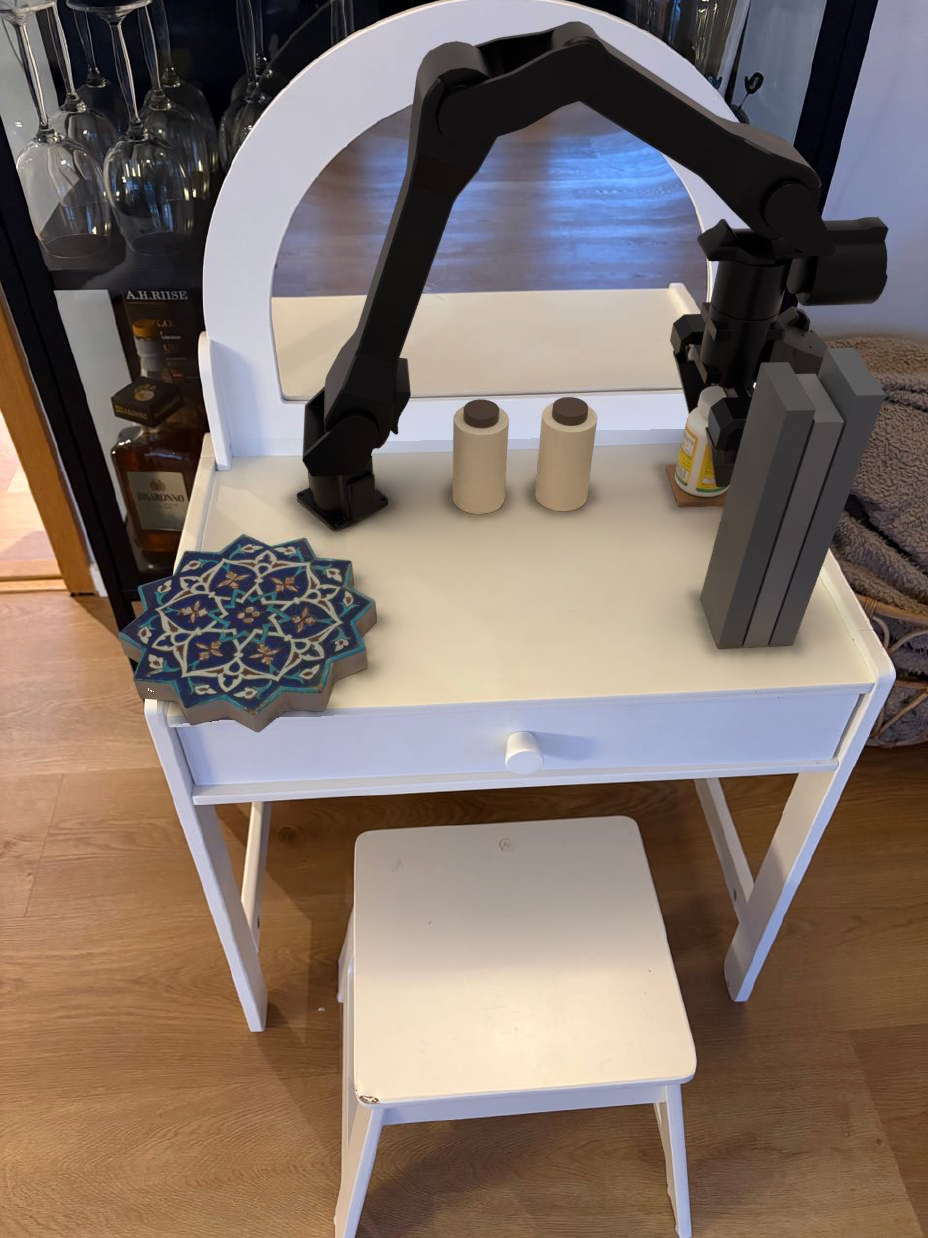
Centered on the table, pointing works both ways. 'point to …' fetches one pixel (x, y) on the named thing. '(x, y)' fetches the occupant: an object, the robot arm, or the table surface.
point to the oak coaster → (689, 499)
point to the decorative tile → (249, 632)
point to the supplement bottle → (698, 449)
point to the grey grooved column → (787, 496)
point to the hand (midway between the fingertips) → (709, 456)
